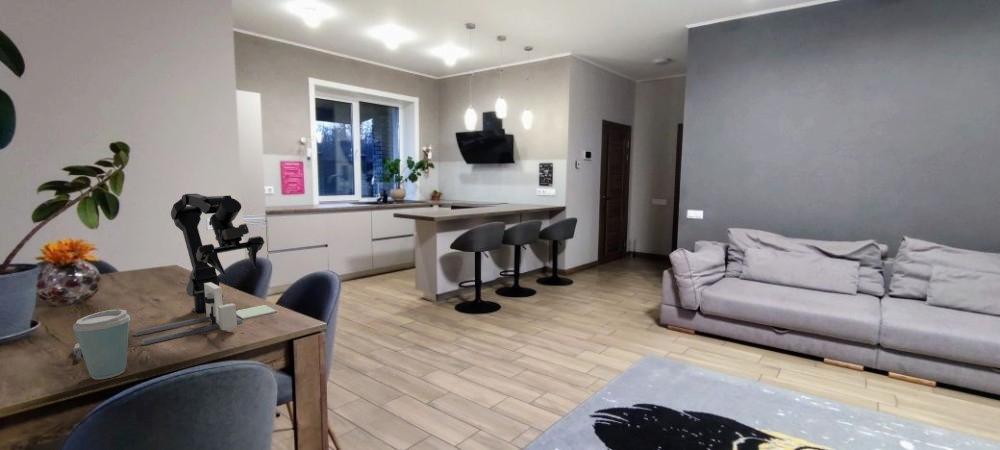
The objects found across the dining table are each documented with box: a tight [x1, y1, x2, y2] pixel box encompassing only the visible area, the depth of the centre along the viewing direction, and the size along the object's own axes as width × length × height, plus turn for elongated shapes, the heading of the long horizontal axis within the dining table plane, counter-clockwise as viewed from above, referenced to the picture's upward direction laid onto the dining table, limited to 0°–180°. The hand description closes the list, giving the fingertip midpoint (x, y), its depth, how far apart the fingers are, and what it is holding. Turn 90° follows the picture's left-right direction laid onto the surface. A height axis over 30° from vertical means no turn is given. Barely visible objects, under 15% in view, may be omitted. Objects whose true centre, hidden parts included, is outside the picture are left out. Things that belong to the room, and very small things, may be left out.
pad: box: [236, 304, 278, 320], centre depth 162 cm, size 11×11×1 cm
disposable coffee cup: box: [72, 309, 131, 380], centre depth 111 cm, size 11×11×15 cm
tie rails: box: [134, 315, 243, 346], centre depth 145 cm, size 13×26×1 cm, turn 137°
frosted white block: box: [204, 282, 238, 331], centre depth 147 cm, size 20×4×11 cm, turn 47°
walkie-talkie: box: [73, 343, 83, 362], centre depth 129 cm, size 9×4×20 cm
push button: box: [204, 292, 224, 325], centre depth 150 cm, size 7×5×10 cm
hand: (239, 271), depth 146 cm, fingers open, 9 cm apart
